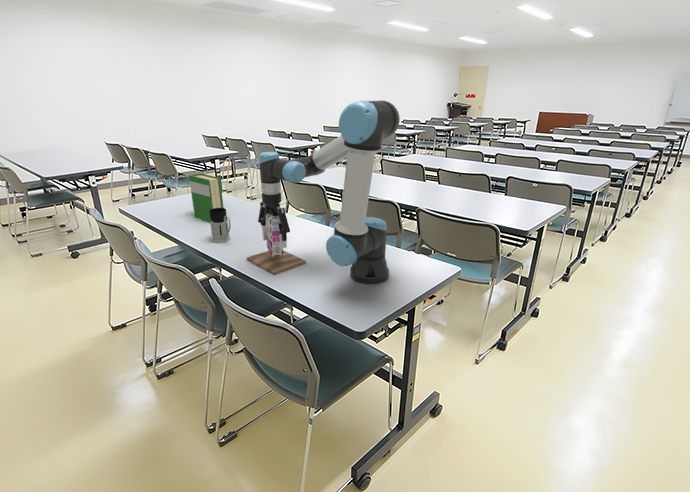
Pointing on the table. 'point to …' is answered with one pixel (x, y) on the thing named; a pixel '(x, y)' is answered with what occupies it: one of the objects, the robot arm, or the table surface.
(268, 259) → the walnut board
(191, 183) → the hardback book
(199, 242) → the table surface
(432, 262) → the table surface
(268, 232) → the candy bar box
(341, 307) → the table surface
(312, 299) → the table surface
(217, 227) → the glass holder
